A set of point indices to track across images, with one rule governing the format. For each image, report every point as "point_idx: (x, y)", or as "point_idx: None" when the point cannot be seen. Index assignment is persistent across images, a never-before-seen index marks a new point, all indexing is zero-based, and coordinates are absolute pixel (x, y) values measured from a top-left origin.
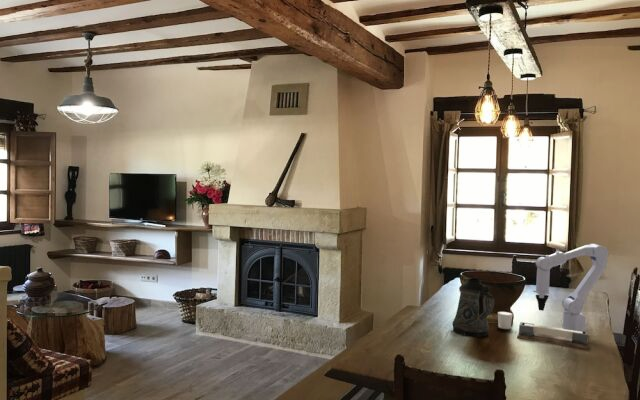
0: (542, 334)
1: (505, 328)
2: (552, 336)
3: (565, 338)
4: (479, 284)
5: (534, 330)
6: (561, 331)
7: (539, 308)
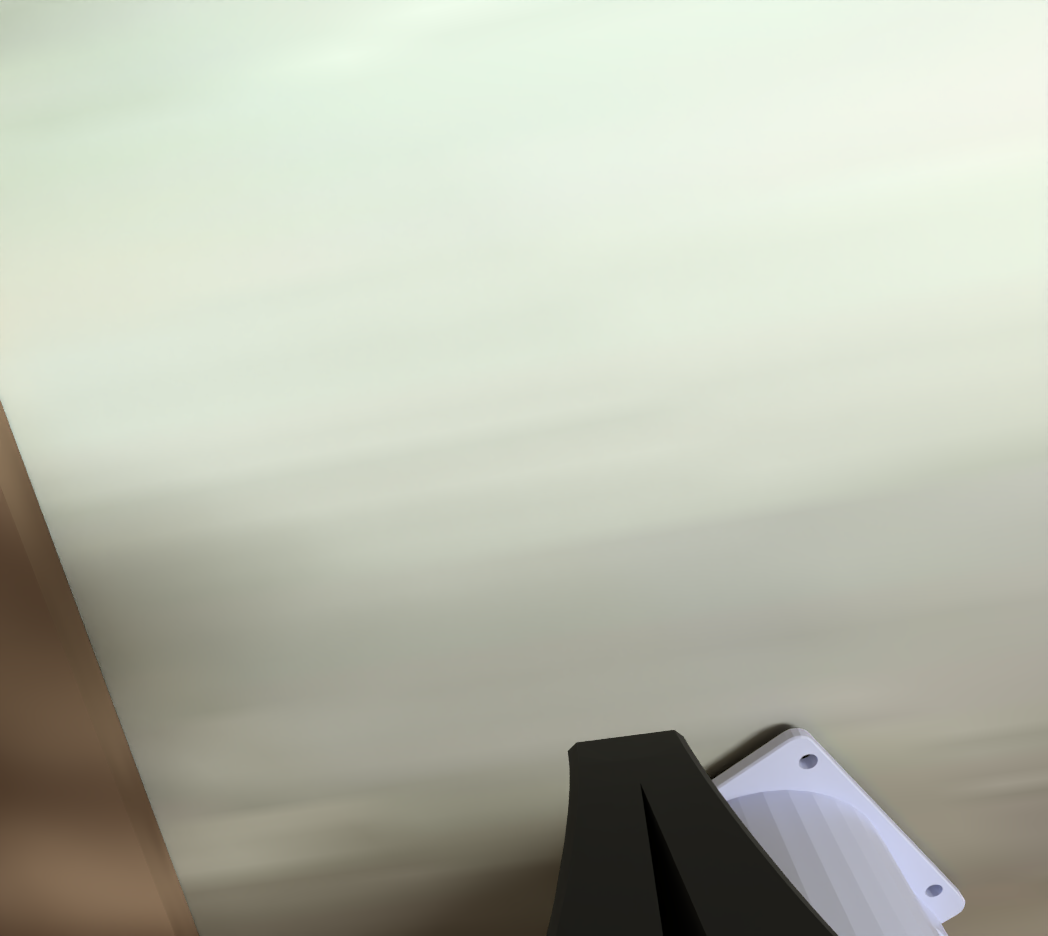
0: (4, 636)
1: None
2: (31, 781)
3: (91, 931)
4: None
5: None
6: None
7: (570, 812)
